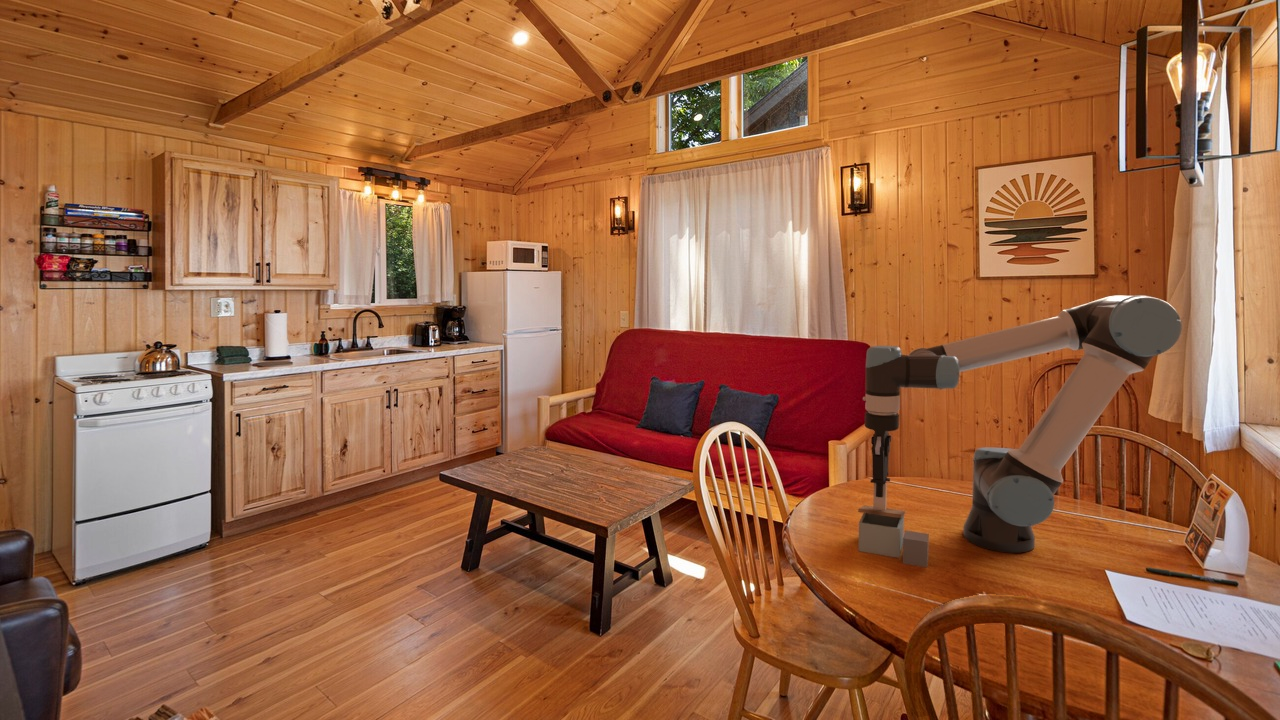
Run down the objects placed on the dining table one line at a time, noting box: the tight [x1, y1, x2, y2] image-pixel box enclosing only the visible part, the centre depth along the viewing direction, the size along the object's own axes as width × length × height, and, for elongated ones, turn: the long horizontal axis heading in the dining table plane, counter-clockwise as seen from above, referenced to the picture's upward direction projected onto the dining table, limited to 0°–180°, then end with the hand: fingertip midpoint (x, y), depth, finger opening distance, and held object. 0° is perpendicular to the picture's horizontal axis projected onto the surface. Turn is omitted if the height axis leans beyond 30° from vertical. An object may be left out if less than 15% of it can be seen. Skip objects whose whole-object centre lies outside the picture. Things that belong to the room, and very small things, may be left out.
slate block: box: [902, 529, 930, 568], centre depth 139 cm, size 5×5×6 cm
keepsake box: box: [857, 513, 905, 559], centre depth 147 cm, size 9×10×7 cm
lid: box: [857, 504, 906, 518], centre depth 147 cm, size 9×10×1 cm
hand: (879, 508), depth 145 cm, fingers closed
